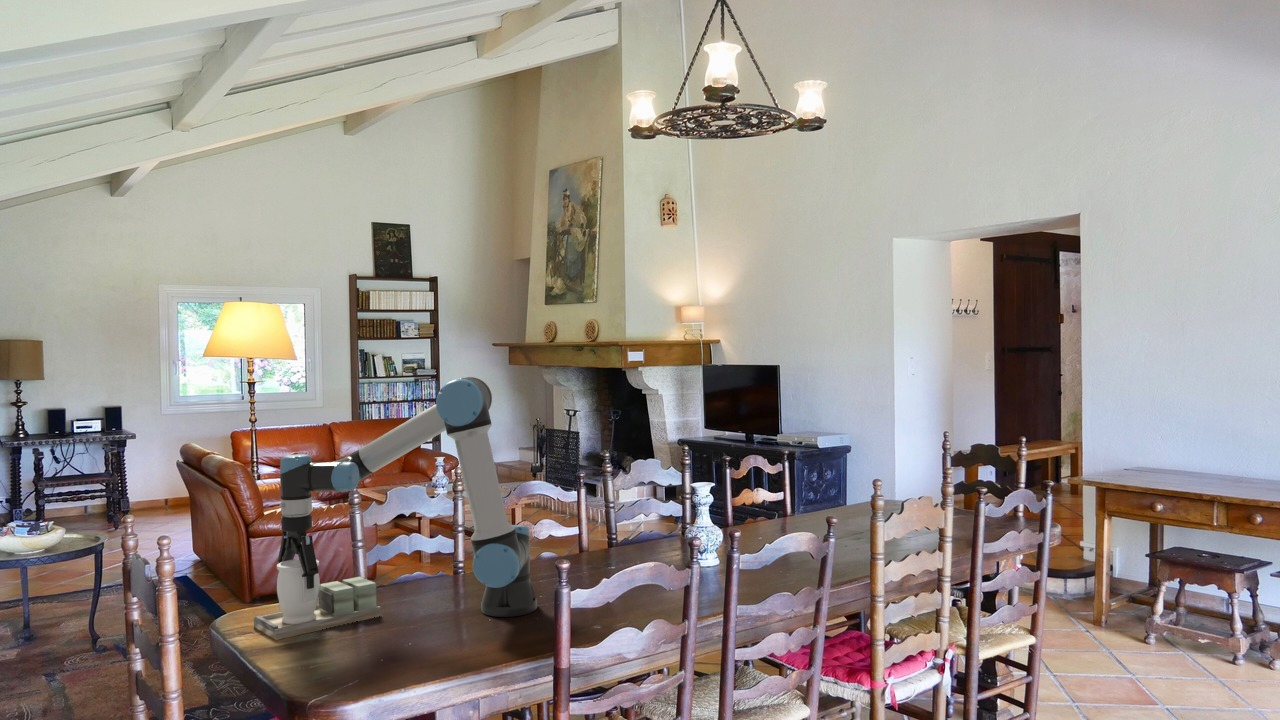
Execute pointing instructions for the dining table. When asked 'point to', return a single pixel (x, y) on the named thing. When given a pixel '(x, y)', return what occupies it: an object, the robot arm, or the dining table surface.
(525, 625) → the dining table surface
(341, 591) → the rail board
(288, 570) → the jar
